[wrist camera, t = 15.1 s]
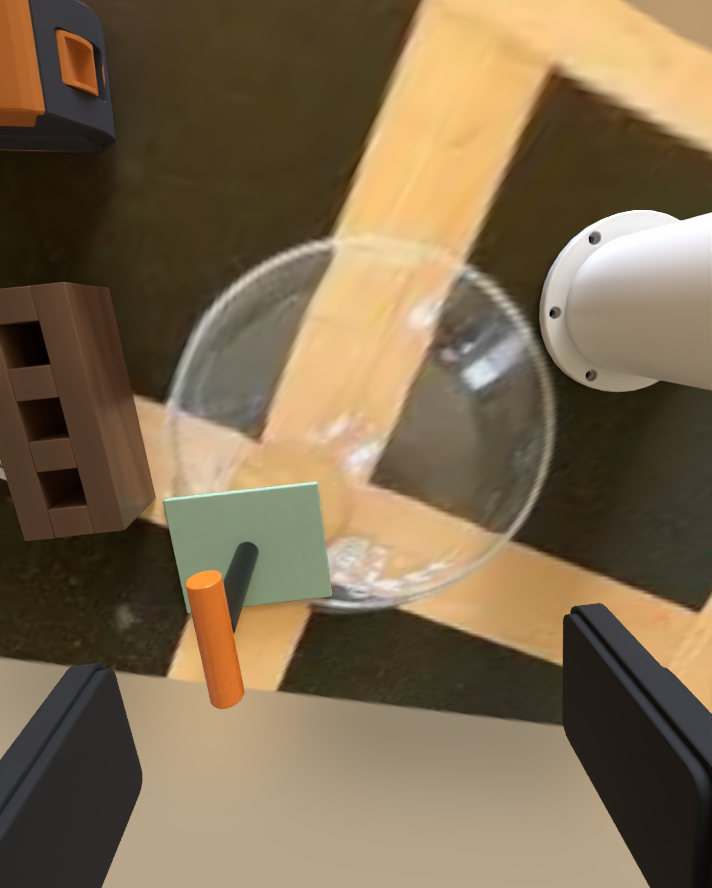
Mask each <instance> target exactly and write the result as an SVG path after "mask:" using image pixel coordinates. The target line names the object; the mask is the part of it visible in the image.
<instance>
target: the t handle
mask: <svg viewBox="0 0 712 888" xmlns="http://www.w3.org/2000/svg"><path fill="white" fill-rule="evenodd" d="M258 554H259V551H258V548H257V546H256V545H255V544H253V543H251V542H243V543H241V544H239V545H238V547H237V548H236V551H235V553H234V556H233V558H232V561H231V563H230V566H229V568H228V571H227V573H226V576H225V578H224V580H223V577H222V574H221V573H220V572H219V571H215V570H208V571H203V572H199V573H197V574H195V575H193V576H191V577H190V578H189V579H188V580H187V581H186V589H187V594H188V599H189V603H190V608H191V613H192V617H193V622H194V627H195V631H196V636H197V640H198V645H199V650H200V654H201V659H202V664H203V668H204V673H205V678H206V682H207V687H208V691H209V696H210V701H211V704H212V705H213V706H214V707H216V708H219V709H225V708H229V707H232V706H234V705H235V704H237V703H238V702H239V701H240V700H241V699H242V697H243V695H244V687H243V681H242V676H241V671H240V666H239V661H238V655H237V650H236V645H235V640H234V633H235V630H236V626H237V623H238V620H239V617H240V613H241V610H242V607H243V603H244V600H245V597H246V594H247V590H248V587H249V584H250V580H251V577H252V574H253V571H254V567H255V564H256V561H257V557H258Z"/></svg>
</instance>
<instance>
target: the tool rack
mask: <svg viewBox="0 0 712 888" xmlns="http://www.w3.org/2000/svg"><path fill="white" fill-rule="evenodd" d="M0 460H1V463H2V466H3V470H4V473H5V476H6V480H7V483H8V486H9V490H10V493H11V496H12V499H13V503H14V506H15V509H16V513H17V516H18V519H19V523H20V526H21V529H22V532H23V536H24V539H25V541H33V540H42V539H50V538H55V537H56V538H60V537H68V536H77V535H86V534H94V533H95V534H96V533H105V532H113V531H122V530H125V529H126V528H127V527H128V526H129V525H130V524H131V523H132V522H133V521H134V520H135V519H136V518H137V517H138V516H139V515H140V514H141V513H142V512H143V511H144V509H145V508H146V507H147V506H148V505H149V504H150V503H151V502H152V501H153V500H154V499H155V498H156V497H155V493H154V488H153V484H152V479H151V475H150V470H149V466H148V461H147V457H146V452H145V448H144V443H143V439H142V434H141V430H140V425H139V421H138V416H137V412H136V407H135V403H134V398H133V394H132V389H131V385H130V380H129V376H128V371H127V367H126V362H125V358H124V353H123V349H122V344H121V340H120V335H119V331H118V326H117V321H116V317H115V312H114V308H113V303H112V299H111V294H110V290H109V288H106V287H98V286H90V285H82V284H74V283H66V282H60V283H51V284H41V285H31V286H22V287H12V288H2V289H0Z"/></svg>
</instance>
